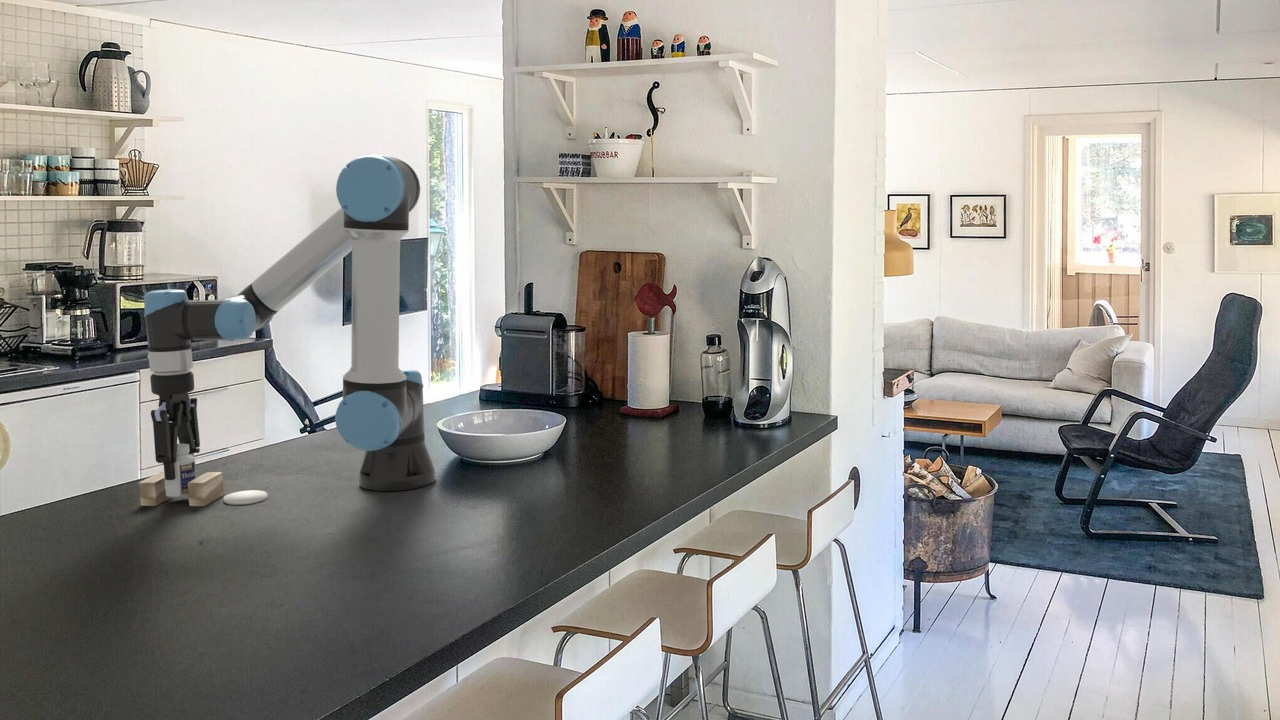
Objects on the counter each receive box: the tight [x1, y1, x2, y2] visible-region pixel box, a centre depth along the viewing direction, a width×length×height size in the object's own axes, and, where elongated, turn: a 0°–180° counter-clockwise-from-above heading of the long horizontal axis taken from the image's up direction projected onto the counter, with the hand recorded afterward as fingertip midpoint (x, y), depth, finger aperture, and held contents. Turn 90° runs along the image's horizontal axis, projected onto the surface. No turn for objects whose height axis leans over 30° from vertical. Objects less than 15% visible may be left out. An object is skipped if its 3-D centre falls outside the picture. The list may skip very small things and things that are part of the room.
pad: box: [223, 489, 269, 506], centre depth 207 cm, size 8×8×1 cm
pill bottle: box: [168, 443, 197, 499], centre depth 206 cm, size 5×5×10 cm
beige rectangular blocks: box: [138, 471, 225, 507], centre depth 207 cm, size 12×8×4 cm, turn 86°
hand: (181, 490), depth 206 cm, fingers closed on pill bottle, 5 cm apart
